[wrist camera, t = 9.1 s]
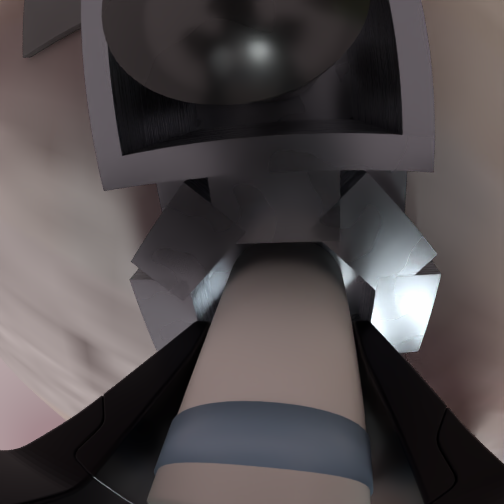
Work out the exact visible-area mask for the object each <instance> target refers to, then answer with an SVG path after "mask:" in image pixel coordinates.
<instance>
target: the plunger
mask: <svg viewBox="0 0 504 504" xmlns="http://www.w3.org/2000/svg"><path fill="white" fill-rule="evenodd" d="M369 5H370V0H103V1H102V16H101V17H102V26H103V31H104V35H105V39H106V42H107V44H108V46H109V49H110V51H111V53H112V55H113V56H114V58H115V59H116V61H117V62H118V64H119V65H120V66H121V67H122V68H123V69H124V70H125V71H126V72H127V74H129V75H130V76H131V77H132V78H134V79H135V80H136V81H137V82H138V83H140V84H142V85H143V86H145V87H147V88H148V89H150V90H152V91H154V92H156V93H159V94H161V95H164V96H166V97H169V98H173V99H176V100H180V101H184V102H190V103H197V104H210V105H233V104H248V103H254V102H259V103H272V102H280V101H283V100H287V99H290V98H292V97H295V96H297V95H299V94H301V93H302V92H304V91H305V90H307V89H308V88H309V87H310V86H311V85H312V84H313V83H314V82H315V81H316V80H317V79H318V77H319V76H321V75H322V74H324V73H325V72H326V71H327V70H328V69H329V68H330V67H331V66H333V65H334V64H335V63H336V62H337V61H338V60H339V59H340V58H341V57H342V55H343V54H344V53H345V52H346V51H347V50H348V48H349V47H350V46H351V45H352V44H353V42H354V41H355V39H356V38H357V36H358V34H359V33H360V31H361V29H362V27H363V25H364V22H365V20H366V17H367V14H368V10H369Z"/></svg>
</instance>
